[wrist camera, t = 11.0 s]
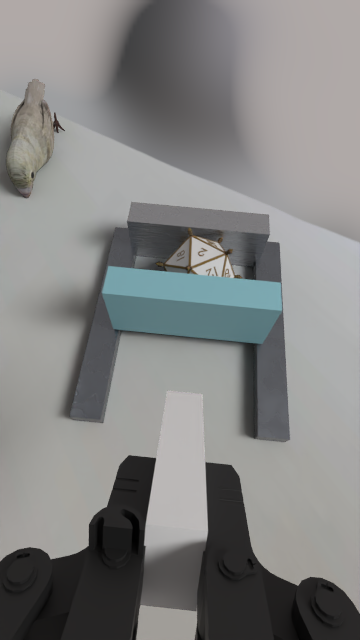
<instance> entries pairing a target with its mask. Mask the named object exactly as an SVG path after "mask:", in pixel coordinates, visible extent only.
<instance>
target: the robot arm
mask: <svg viewBox="0 0 360 640" xmlns="http://www.w3.org/2000/svg"><path fill="white" fill-rule="evenodd" d="M140 605H146V606H155V607H164V608H173V609H182V610H190V611H196V609H197V628H196V635H195V640H360V613H359V612H358V610H357V609H356V607H355V605H354V604H353V602H352V601H351V600H350V599H349V597H348V596H347V595H346V594H345V592H344V591H343V590H341V589H340V588H339V587H337V586H336V585H335V584H334V583H332V582H330V581H327V580H325V579H323V578H315V577H310V578H307V579H305V580H302V581H301V583H300V584H299V586H297V585H295V584H293V583H290V582H288V581H286V580H284V579H281V578H279V577H277V576H275V575H274V574H272V573H270V572H269V571H268V570H267V569H265V568H264V567H263V566H262V565H261V564H260V562H259V561H258V560H257V558H256V557H255V555H254V553H253V550H252V547H251V543H250V537H249V531H248V525H247V519H246V513H245V507H244V503H243V496H242V492H241V484H240V478H239V476H238V474H237V473H236V471H235V470H234V468H233V467H232V465H226V464H216V463H207V462H205V444H204V420H203V395H202V394H198V393H188V392H178V391H168V390H167V395H166V401H165V407H164V414H163V420H162V426H161V432H160V439H159V445H158V451H157V457H156V458H149V457H140V456H130V455H129V456H128V457H127V458H126V459H125V460H124V461H123V462H122V463H121V464H120V466H119V469H118V472H117V476H116V480H115V482H114V486H113V490H112V492H111V495H110V499H109V502H108V505H107V507H106V508H103V509H102V510H100V511H99V512H98V513H97V514H96V515H94V517H93V519H92V520H91V522H90V524H89V546H88V547H87V548H86V549H84V550H82V551H80V552H78V553H76V554H73V555H70V556H65V557H61V558H56V559H51V560H50V557H49V555H48V554H47V553H45V552H44V551H42V550H41V549H37V548H31V547H29V548H24V549H19V550H17V551H15V552H13V553H11V554H9V555H7V556H6V557H5V558H4V559H2V560H1V561H0V640H136V636H137V627H138V615H139V608H140Z"/></svg>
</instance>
